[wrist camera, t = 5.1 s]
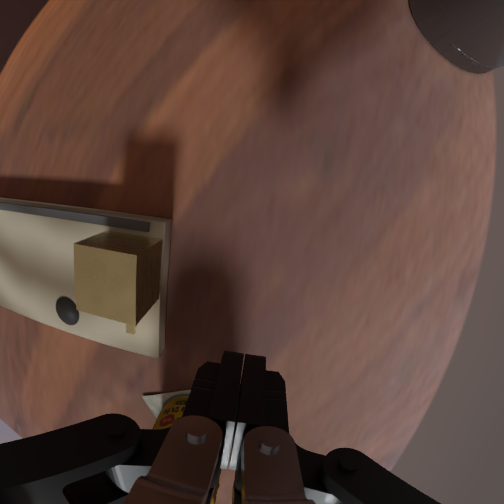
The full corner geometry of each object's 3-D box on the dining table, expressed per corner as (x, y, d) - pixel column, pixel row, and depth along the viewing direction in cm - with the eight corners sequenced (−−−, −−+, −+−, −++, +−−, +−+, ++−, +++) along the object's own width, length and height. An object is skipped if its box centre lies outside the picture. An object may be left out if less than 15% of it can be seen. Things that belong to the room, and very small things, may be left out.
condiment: (217, 384, 23) (187, 509, 11) (249, 446, 25) (240, 553, 13) (142, 394, 24) (88, 496, 12) (181, 452, 25) (153, 547, 14)
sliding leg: (107, 230, 18) (73, 243, 14) (162, 239, 18) (136, 255, 14) (108, 324, 20) (81, 351, 16) (157, 337, 20) (137, 368, 16)
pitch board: (-22, 195, 20) (-35, 197, 18) (172, 219, 20) (163, 223, 18) (-16, 289, 22) (-27, 294, 21) (164, 348, 22) (157, 360, 20)
